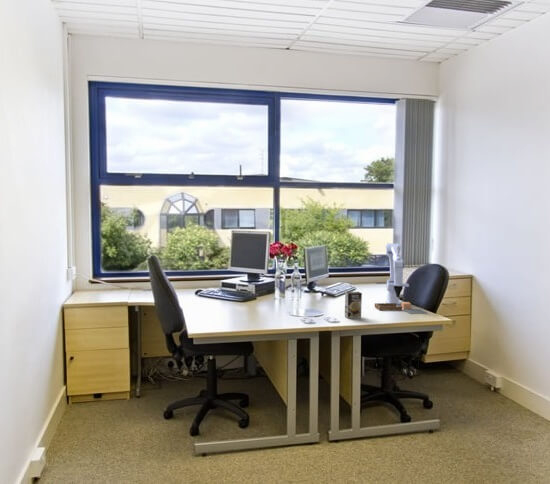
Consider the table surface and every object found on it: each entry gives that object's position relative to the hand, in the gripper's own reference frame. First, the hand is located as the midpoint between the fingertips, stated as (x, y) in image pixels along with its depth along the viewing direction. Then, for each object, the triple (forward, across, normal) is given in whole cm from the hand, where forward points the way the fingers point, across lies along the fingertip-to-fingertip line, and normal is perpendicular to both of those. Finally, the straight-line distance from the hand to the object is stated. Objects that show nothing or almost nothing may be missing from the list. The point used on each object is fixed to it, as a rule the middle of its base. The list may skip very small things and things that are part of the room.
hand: (397, 297), depth 336 cm
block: (+8, +6, 0) cm, 10 cm away
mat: (+8, +8, -10) cm, 15 cm away
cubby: (+8, -7, 0) cm, 10 cm away
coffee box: (+8, -38, -24) cm, 45 cm away
